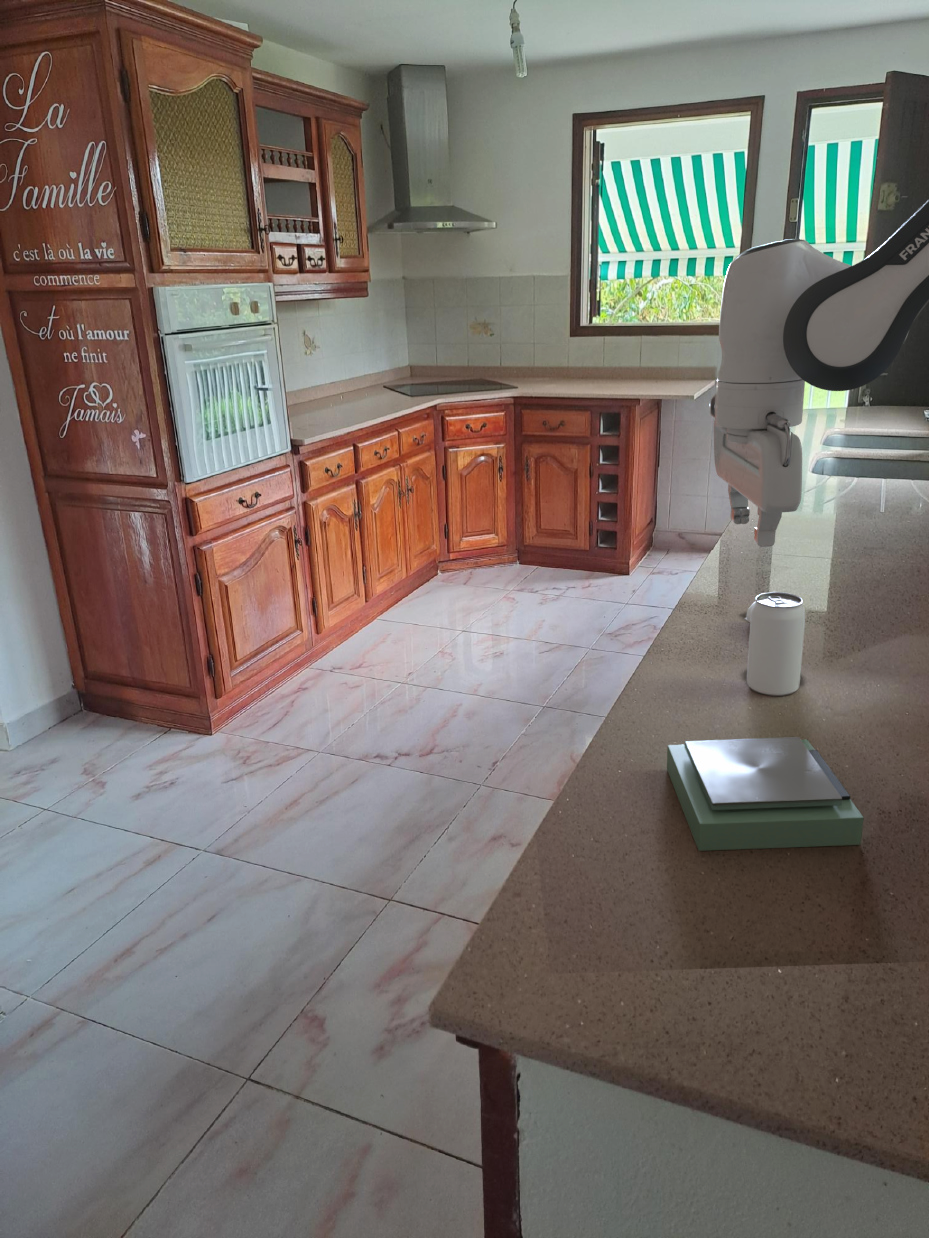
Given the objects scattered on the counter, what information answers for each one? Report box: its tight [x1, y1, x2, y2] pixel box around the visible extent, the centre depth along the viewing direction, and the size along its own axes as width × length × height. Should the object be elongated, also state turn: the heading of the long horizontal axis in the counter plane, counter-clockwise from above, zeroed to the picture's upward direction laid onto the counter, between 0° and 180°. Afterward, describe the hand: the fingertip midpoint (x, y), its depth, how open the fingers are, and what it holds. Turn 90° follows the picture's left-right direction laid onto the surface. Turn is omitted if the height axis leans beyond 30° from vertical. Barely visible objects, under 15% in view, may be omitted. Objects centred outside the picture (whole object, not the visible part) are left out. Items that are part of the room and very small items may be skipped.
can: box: [746, 591, 806, 697], centre depth 112 cm, size 6×6×12 cm
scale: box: [666, 739, 864, 852], centre depth 88 cm, size 15×15×3 cm
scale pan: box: [684, 736, 842, 810], centre depth 88 cm, size 12×12×1 cm
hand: (751, 533), depth 98 cm, fingers open, 8 cm apart
